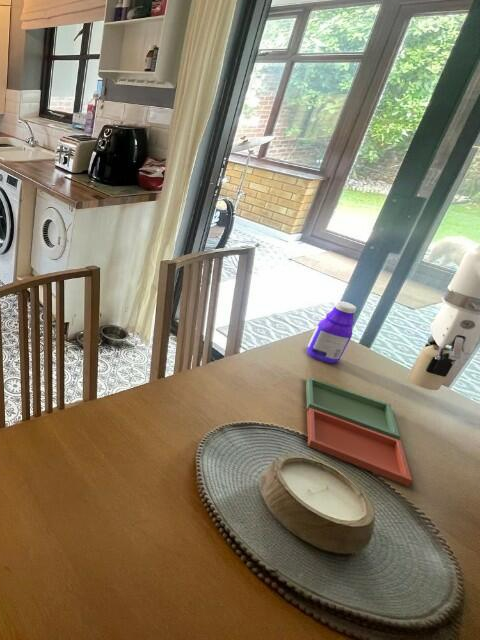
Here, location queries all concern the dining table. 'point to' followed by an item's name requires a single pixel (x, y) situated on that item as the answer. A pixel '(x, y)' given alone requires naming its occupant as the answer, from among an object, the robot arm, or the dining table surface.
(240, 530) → the dining table surface
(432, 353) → the candle
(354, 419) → the tray sage
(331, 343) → the bottle
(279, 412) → the dining table surface
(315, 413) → the tray terracotta
